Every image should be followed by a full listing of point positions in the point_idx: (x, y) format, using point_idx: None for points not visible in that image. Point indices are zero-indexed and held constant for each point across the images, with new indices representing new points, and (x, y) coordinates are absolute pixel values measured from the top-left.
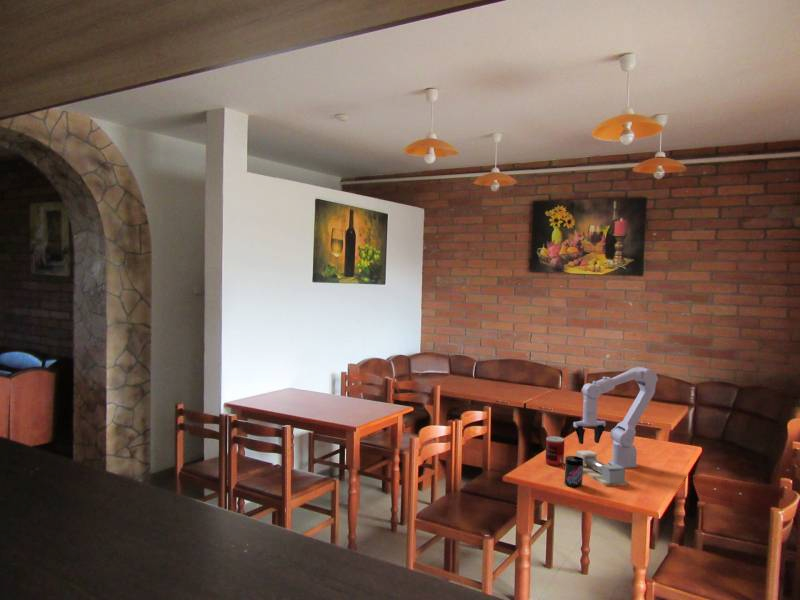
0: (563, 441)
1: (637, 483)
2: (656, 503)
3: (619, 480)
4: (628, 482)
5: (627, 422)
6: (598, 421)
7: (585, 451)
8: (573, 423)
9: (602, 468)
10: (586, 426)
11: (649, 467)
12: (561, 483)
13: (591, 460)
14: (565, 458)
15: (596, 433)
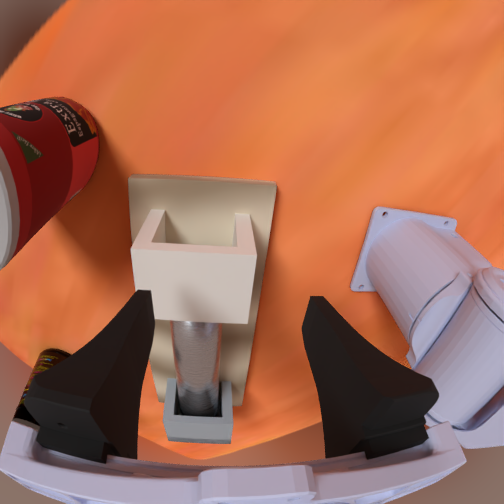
0: (5, 265)
1: (279, 395)
2: (221, 451)
3: None
4: (241, 405)
5: None
6: (385, 499)
7: (198, 271)
8: (2, 453)
9: (164, 412)
10: (183, 472)
11: None
12: (33, 346)
13: (177, 338)
14: (13, 420)
15: (333, 377)
